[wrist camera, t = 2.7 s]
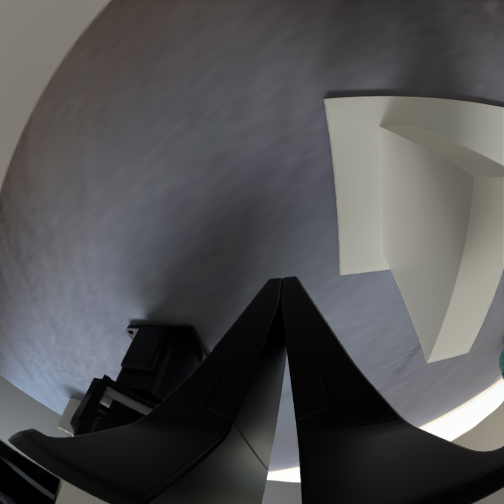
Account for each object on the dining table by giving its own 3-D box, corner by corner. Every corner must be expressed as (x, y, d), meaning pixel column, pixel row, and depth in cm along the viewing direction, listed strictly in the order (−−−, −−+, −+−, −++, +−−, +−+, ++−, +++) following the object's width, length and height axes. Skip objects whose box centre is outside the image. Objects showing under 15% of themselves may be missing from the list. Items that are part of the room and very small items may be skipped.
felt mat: (517, 246, 14) (519, 249, 13) (339, 271, 17) (340, 275, 16) (533, 114, 9) (537, 115, 8) (323, 98, 12) (324, 99, 11)
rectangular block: (413, 245, 15) (471, 351, 8) (381, 249, 15) (427, 363, 8) (417, 125, 11) (526, 177, 4) (378, 126, 11) (474, 177, 5)
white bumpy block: (115, 431, 45) (103, 463, 38) (65, 399, 41) (49, 431, 34) (136, 431, 41) (124, 468, 34) (78, 394, 36) (60, 433, 29)
